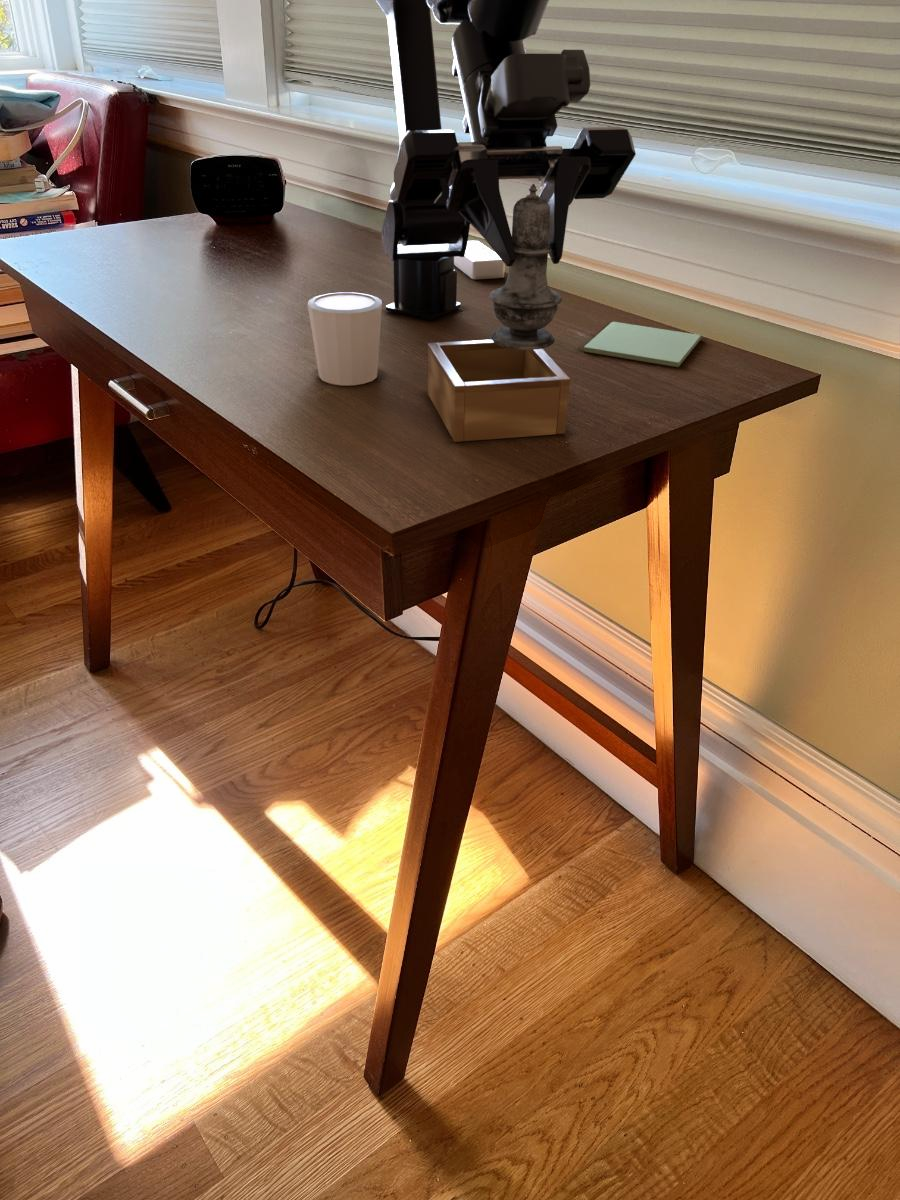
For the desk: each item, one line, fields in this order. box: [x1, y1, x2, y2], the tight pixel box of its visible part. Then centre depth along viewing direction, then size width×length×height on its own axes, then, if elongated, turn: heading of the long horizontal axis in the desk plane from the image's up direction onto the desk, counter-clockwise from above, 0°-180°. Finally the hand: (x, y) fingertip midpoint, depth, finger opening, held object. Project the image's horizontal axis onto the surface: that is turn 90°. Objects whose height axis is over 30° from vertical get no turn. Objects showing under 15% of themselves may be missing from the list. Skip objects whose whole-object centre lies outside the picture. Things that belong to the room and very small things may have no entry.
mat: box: [582, 321, 702, 368], centre depth 96 cm, size 10×10×1 cm
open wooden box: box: [427, 339, 571, 443], centre depth 78 cm, size 11×10×5 cm
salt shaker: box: [489, 183, 563, 350], centre depth 72 cm, size 6×6×12 cm
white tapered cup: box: [307, 291, 383, 386], centre depth 85 cm, size 7×7×7 cm
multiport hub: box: [454, 240, 506, 280], centre depth 121 cm, size 4×11×2 cm, turn 18°
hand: (534, 262), depth 71 cm, fingers closed on salt shaker, 3 cm apart
